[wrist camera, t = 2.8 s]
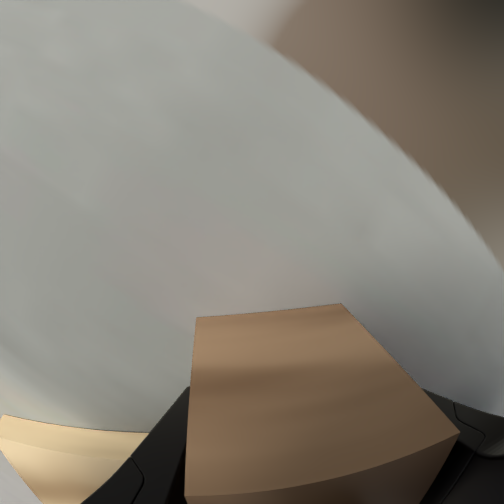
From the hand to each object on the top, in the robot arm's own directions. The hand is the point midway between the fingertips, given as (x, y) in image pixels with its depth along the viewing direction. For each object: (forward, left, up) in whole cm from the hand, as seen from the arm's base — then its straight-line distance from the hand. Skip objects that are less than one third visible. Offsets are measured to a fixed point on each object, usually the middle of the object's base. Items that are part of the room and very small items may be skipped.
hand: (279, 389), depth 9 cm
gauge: (-3, 0, -1) cm, 4 cm away
